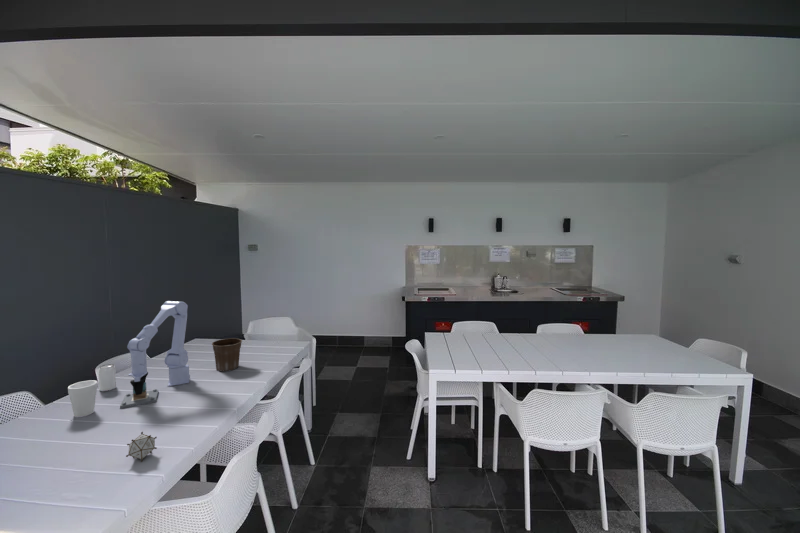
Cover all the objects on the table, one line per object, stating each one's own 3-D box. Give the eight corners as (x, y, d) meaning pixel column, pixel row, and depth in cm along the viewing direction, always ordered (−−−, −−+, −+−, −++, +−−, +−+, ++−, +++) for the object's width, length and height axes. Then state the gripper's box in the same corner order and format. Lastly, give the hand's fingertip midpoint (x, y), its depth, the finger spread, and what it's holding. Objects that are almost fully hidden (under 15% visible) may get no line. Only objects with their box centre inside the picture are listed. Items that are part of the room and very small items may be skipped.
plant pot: (244, 369, 201) (244, 342, 200) (214, 375, 192) (213, 347, 191) (240, 361, 214) (239, 336, 213) (211, 366, 205) (210, 340, 204)
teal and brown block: (146, 394, 163) (146, 382, 163) (145, 397, 160) (144, 385, 159) (134, 396, 161) (134, 384, 161) (133, 400, 157) (132, 387, 157)
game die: (140, 465, 118) (140, 435, 122) (163, 456, 118) (163, 426, 123) (118, 468, 110) (119, 436, 114) (143, 458, 110) (143, 426, 115)
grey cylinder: (106, 392, 168) (105, 368, 168) (95, 391, 170) (94, 367, 169) (119, 387, 175) (118, 364, 174) (109, 385, 176) (108, 363, 175)
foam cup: (103, 410, 150) (102, 381, 149) (78, 420, 141) (76, 390, 140) (89, 407, 153) (88, 379, 152) (64, 416, 144) (62, 387, 143)
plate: (158, 391, 169) (158, 388, 169) (155, 401, 158) (155, 398, 158) (125, 397, 163) (125, 393, 162) (120, 408, 151) (119, 404, 151)
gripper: (130, 360, 164) (131, 387, 164) (125, 369, 151) (126, 399, 152) (148, 358, 167) (149, 384, 168) (145, 366, 155) (146, 395, 156)
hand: (140, 391), depth 160 cm, fingers open, 7 cm apart
